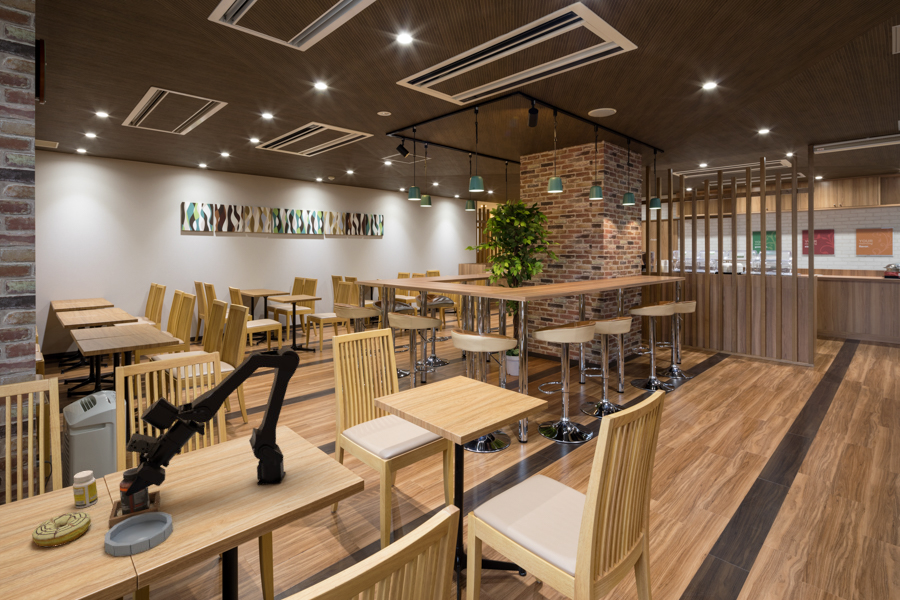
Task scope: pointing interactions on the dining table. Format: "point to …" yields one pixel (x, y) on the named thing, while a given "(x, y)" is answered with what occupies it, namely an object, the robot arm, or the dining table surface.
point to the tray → (117, 505)
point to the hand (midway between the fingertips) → (127, 489)
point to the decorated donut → (61, 529)
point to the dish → (138, 533)
